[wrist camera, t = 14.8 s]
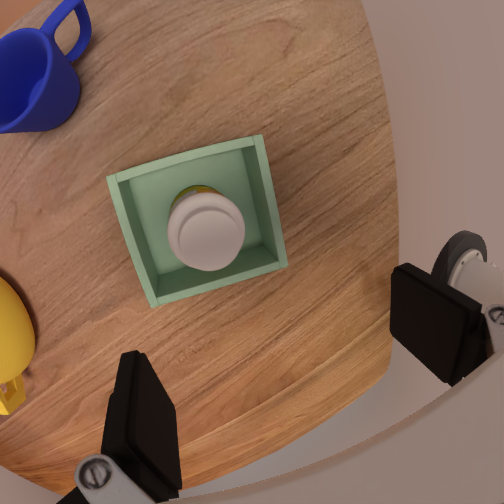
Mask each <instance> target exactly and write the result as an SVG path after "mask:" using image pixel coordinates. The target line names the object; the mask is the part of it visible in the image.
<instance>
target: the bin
mask: <svg viewBox="0 0 504 504" xmlns="http://www.w3.org/2000/svg"><path fill="white" fill-rule="evenodd" d="M106 180H107V183H108V187H109V190H110V194H111V197H112V201H113V204H114V207H115V211H116V214H117V217H118V220H119V223H120V226H121V229H122V232H123V235H124V238H125V241H126V244H127V247H128V250H129V253H130V256H131V258H132V261H133V264H134V266H135V269H136V272H137V274H138V277H139V280H140V282H141V285H142V287H143V290H144V292H145V295H146V297H147V300H148V302H149V304H150V307H151V308H153V307H157V306H159V305H163V304H166V303H170V302H173V301H177V300H180V299H183V298H187V297H190V296H193V295H197V294H200V293H204V292H207V291H210V290H214V289H217V288H220V287H223V286H227V285H230V284H233V283H237V282H240V281H243V280H246V279H250V278H253V277H256V276H259V275H262V274H266V273H269V272H272V271H275V270H278V269H282V268H285V267H288V266H289V265H288V260H287V254H286V249H285V244H284V238H283V233H282V228H281V223H280V218H279V212H278V207H277V202H276V197H275V192H274V188H273V183H272V178H271V173H270V168H269V164H268V159H267V154H266V150H265V145H264V140H263V136H262V134H258V135H253V136H248V137H244V138H239V139H234V140H230V141H225V142H221V143H217V144H213V145H209V146H205V147H201V148H197V149H193V150H189V151H186V152H182V153H178V154H175V155H171V156H168V157H164V158H161V159H158V160H154V161H151V162H148V163H145V164H141V165H138V166H135V167H132V168H129V169H126V170H123V171H120V172H118V173H115V174H112V175H109V176H106ZM194 185H205V186H209V187H212V188H214V189H216V190H217V191H219V192H220V193H221V194H223V195H224V196H225V197H227V198H228V199H229V200H230V201H232V202H233V203H234V204H235V205H236V206H237V208H238V209H239V211H240V212H241V214H242V217H243V220H244V224H245V237H244V242H243V244H242V247H241V249H240V250H239V252H238V254H237V256H236V257H235V259H234V260H233V261H232V262H231V263H230V264H229V265H227V266H226V267H224V268H222V269H219V270H215V271H203V270H200V269H195V268H192V267H190V266H188V265H186V264H184V263H183V262H181V261H180V260H179V259H178V258H177V257H176V256H175V254H174V253H173V251H172V250H171V248H170V245H169V242H168V237H167V226H168V219H169V213H170V208H171V205H172V202H173V200H174V199H175V197H176V196H177V195H178V194H179V193H180V192H181V191H182V190H184V189H186V188H188V187H190V186H194Z"/></svg>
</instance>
